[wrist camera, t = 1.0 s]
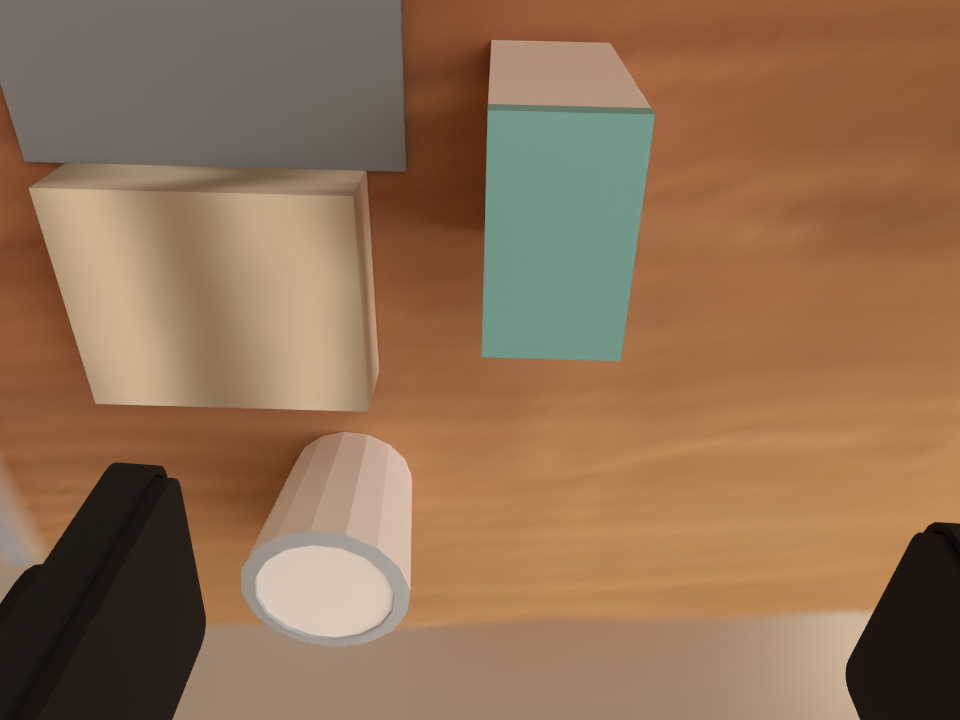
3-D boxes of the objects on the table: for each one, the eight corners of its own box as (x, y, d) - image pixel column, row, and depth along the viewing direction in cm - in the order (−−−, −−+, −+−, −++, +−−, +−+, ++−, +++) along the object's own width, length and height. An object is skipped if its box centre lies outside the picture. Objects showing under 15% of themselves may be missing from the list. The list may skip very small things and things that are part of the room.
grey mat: (396, -159, 23) (394, -160, 23) (407, 168, 28) (405, 172, 28) (-69, -169, 23) (-78, -170, 23) (30, 158, 28) (24, 161, 28)
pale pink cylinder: (337, 395, 34) (302, 505, 28) (454, 475, 36) (445, 592, 30) (253, 481, 37) (206, 598, 31) (367, 550, 39) (343, 670, 33)
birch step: (366, 167, 28) (353, 196, 26) (379, 370, 33) (369, 411, 31) (70, 159, 28) (28, 188, 26) (126, 363, 33) (95, 403, 31)
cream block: (610, 42, 26) (655, 114, 18) (590, 235, 30) (620, 361, 22) (491, 39, 26) (487, 110, 18) (486, 232, 30) (481, 357, 22)
